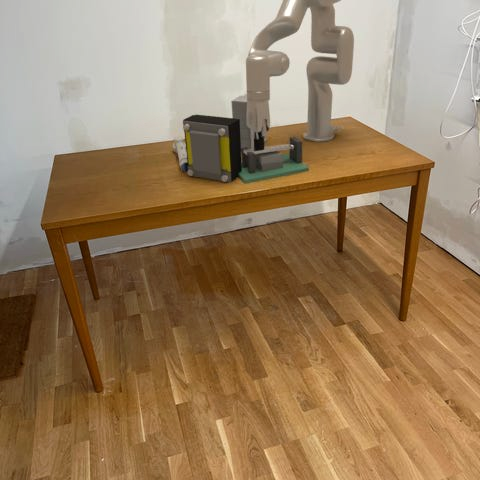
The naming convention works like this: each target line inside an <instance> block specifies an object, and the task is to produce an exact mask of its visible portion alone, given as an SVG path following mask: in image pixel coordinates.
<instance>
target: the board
mask: <svg viewBox="0 0 480 480" xmlns="http://www.w3.org/2000/svg"><path fill="white" fill-rule="evenodd" d="M289 143H290V144H292V145H294V146H295V150H292V149H289V152H288V153H282V152H280V151H273V152H266V153H259V154H255V153H253V152H252V153H248V155H246V154H245V153H244V150H245V149H248V148H247V147H243V148H241V162H242V171H241V172H240V173H238V178H239V179H240V180H241V181H242V182H243V183H244V184H249V183H250V184H251V183H254V182H259V181H265V180H270V179H274V178H279V177H280V178H281V177H285V176H289V175H294V174H299V173H305V172H309V166H307V165H306V164H305V163H303V141H302V140H301V139H300V138H298V137H296V136H291V137H289Z"/></svg>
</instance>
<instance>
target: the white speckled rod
mask: <svg viewBox="0 0 480 480" xmlns="http://www.w3.org/2000/svg"><path fill="white" fill-rule="evenodd" d="M173 140H174V141H173V144H172V148H173V152H174V153H175V154H177V156H178V157H177V158H178V165H179V167H180V170H181V171H182V172H183V173H184V172H188V162H187V152H186V143H185V139H184V137H183V136H180V135H177V136H175V137H174V139H173Z"/></svg>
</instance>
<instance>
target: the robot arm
mask: <svg viewBox="0 0 480 480" xmlns="http://www.w3.org/2000/svg"><path fill="white" fill-rule="evenodd" d="M340 1H342V0H282V3H281V4H280V7H279V10H278V11H277V14H276V16H275V18H274V19H273V20H271V22H269V23H268V24H267V25H265V27H264V28H263V29H261V30H260V31H259V32H258V33H257V35H256V36H255V37H254V40H253V42H252V43H251V46H250V47H249V48H250V49H249V51H248V54H247V57H246V59H245V77H246V79H245V80H246V81H245V82H246V92H247V113H246V124H247V127H248V128H250V129H251V130H253V137H254V149H255V150H256V151H257V150H263V149H264V147H265V142H264V138H265V136H266V137H267V136H268V133H267V132H269V131H270V129H271V118H270V117H271V115H270V104H269V103H270V102H269V101H270V99H271V98H270V97H271V93H270V92H271V91H270V90H271V87H270V80H271V79H270V78H271V77H280V76H283V75H284V74H286V73H287V71H288V70H289V69H290V64H291V63H290V62H291V61H290V58H289V56H288V54H286V53H285V52H283V51H277V50H268V49H269V48H270V47H271V46H272V45H274V44H275V43H276V42H278V41H281V40H282V39H285V38H287V37H290V36H292V35H294V34H295V33H297V32H298V31H299V29H300V28H301V25H302V23H303V20H304V17H305V16H306V12H307V10H308V9H310V14H311V18H310V19H311V23H310V25H311V27H310V28H311V29H310V30H311V32H310V33H311V34H310V35H311V36H310V43H311V44H310V46H311V49H312V51H314V53H319V54H329V55H330V54H331V55H336V57H334V56H333V57H332V56H323V55H321V56H318V55H317V56H314V57H311V58H310V59H309V60H308V61H307V63H306V78H307V88H308V91H307V92H308V95H307V121H306V122H307V127H306V128H307V129H306V131H305V132H303V135H302V136H303V138H304V139H305V140H306V141H311V142H319V143H320V142H328V141H331V140H333V139H335V138H334V137H335V134H334V132H335V131H341V130H342V126H341V125H335V124H332V108H333V91H332V88H331V85H337V86H338V85H339V86H340V85H341V86H342V85H346V84H348V83H349V82H350V80H351V78H352V74H353V73H352V72H353V66H354V65H353V64H354V62H353V60H354V46H355V37H354V33H353V31H352V28H350V27H349V26H346V25H345V26H344V25H336V9H335V7H334V4H336V3H339V2H340Z"/></svg>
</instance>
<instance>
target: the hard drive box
mask: <svg viewBox="0 0 480 480" xmlns="http://www.w3.org/2000/svg"><path fill="white" fill-rule="evenodd" d="M230 102H231V103H230V104H231V118H235V119H240V139H241V148H243V147H247V148H248V149H252V148H254V137H253V130H251V129H250V128H248V127H247V124H246V113H247V91H246V92H243V94H241V95H239V96H238V97H236V98H234V99H232V100H231V101H230ZM266 141H267V136H265V138H264V143H265V142H266Z"/></svg>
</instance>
